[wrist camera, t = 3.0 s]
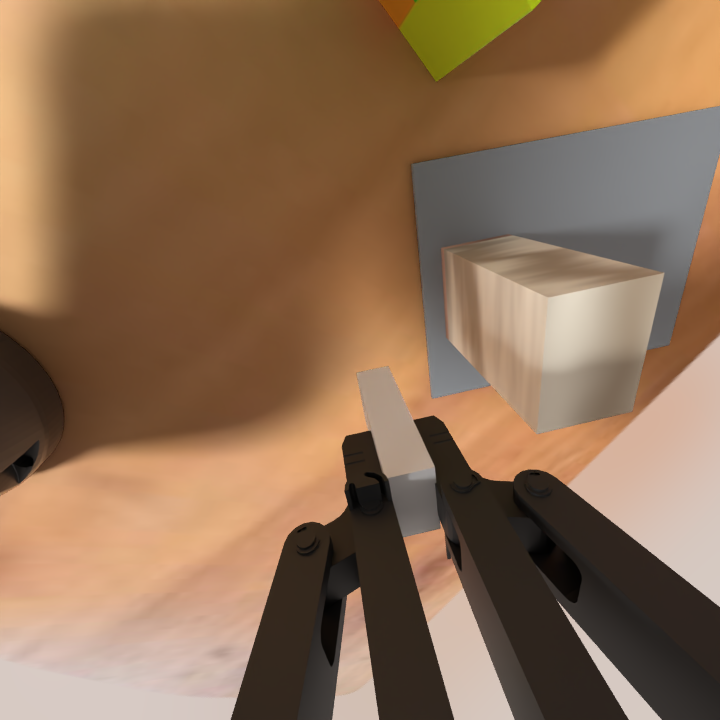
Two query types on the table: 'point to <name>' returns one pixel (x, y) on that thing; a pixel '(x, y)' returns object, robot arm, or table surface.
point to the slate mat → (570, 211)
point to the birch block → (550, 326)
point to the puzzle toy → (453, 27)
